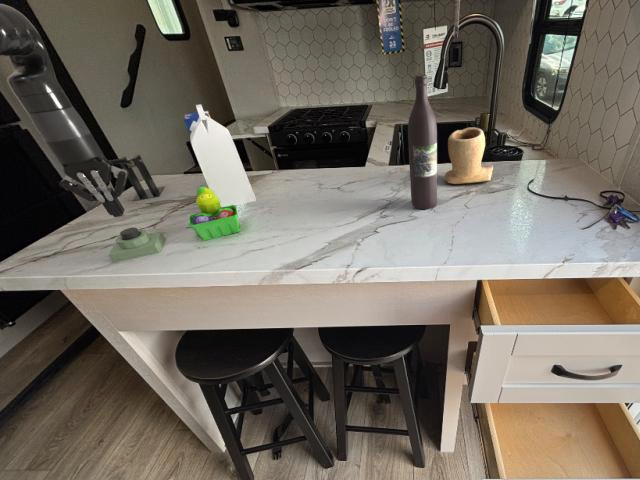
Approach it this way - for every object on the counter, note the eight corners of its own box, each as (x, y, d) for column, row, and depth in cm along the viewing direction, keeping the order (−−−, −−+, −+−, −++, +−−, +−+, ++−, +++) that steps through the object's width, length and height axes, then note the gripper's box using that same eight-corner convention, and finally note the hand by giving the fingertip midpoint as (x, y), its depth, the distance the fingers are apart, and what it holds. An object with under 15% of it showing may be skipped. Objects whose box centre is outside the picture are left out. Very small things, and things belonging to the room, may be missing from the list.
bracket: (160, 199, 111) (139, 159, 103) (133, 204, 109) (109, 164, 101) (166, 189, 119) (146, 151, 110) (141, 194, 117) (119, 155, 109)
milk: (256, 200, 104) (223, 105, 88) (217, 210, 101) (174, 112, 84) (251, 189, 113) (219, 100, 96) (215, 197, 109) (175, 106, 93)
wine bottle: (412, 210, 91) (405, 78, 72) (410, 200, 96) (404, 75, 77) (438, 208, 91) (438, 76, 72) (435, 198, 96) (435, 72, 77)
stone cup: (445, 190, 100) (446, 135, 91) (443, 176, 110) (444, 125, 100) (497, 187, 99) (503, 132, 90) (491, 173, 108) (496, 122, 99)
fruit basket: (198, 244, 84) (175, 201, 77) (198, 230, 90) (177, 189, 83) (245, 232, 87) (228, 190, 80) (242, 220, 94) (226, 179, 87)
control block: (113, 262, 80) (102, 248, 77) (122, 247, 86) (113, 233, 83) (159, 253, 82) (150, 238, 80) (165, 238, 88) (157, 224, 86)
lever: (127, 164, 98) (123, 155, 98) (110, 167, 97) (106, 158, 97) (143, 166, 109) (139, 158, 108) (127, 168, 108) (124, 160, 107)
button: (122, 242, 80) (117, 235, 79) (126, 235, 83) (122, 229, 82) (138, 238, 81) (134, 232, 80) (142, 232, 83) (138, 226, 82)
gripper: (110, 126, 71) (153, 203, 82) (37, 136, 69) (92, 215, 79) (98, 133, 66) (146, 215, 77) (18, 144, 63) (80, 228, 74)
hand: (119, 215), depth 78 cm, fingers closed
